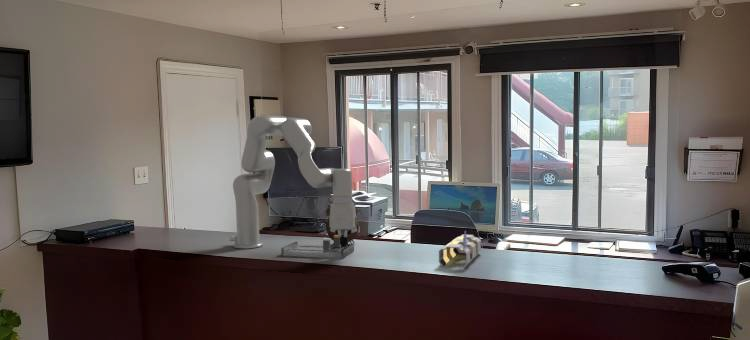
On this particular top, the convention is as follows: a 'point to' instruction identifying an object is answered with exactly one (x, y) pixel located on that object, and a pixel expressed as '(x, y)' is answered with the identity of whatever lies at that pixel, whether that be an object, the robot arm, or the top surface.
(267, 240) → the top surface
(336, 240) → the fader cap
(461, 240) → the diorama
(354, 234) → the alarm clock
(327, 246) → the fader cap
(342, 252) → the console
